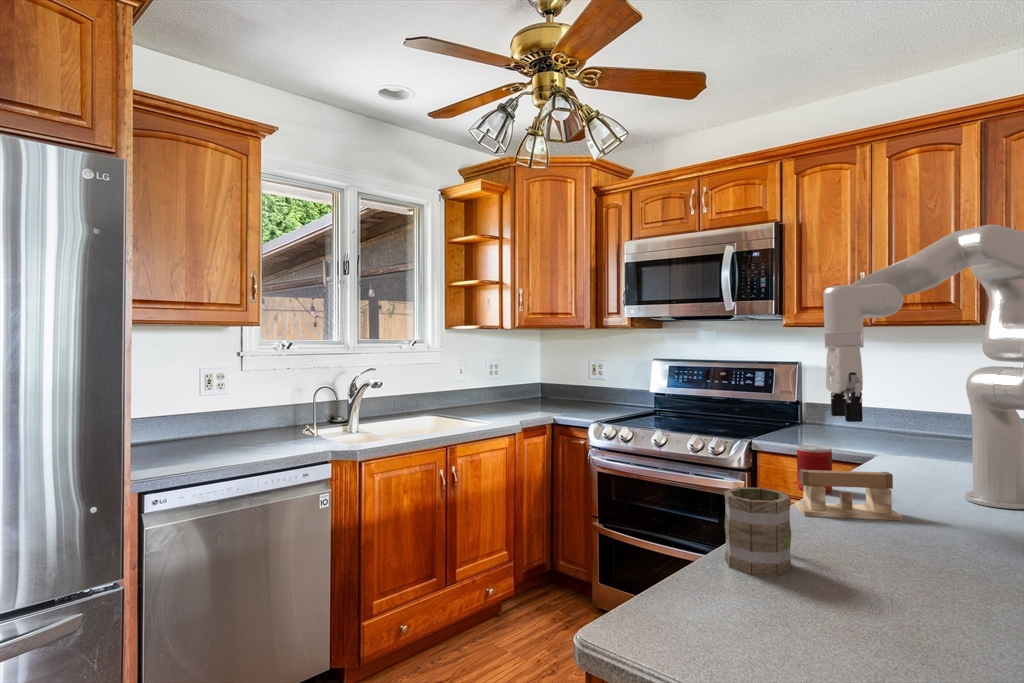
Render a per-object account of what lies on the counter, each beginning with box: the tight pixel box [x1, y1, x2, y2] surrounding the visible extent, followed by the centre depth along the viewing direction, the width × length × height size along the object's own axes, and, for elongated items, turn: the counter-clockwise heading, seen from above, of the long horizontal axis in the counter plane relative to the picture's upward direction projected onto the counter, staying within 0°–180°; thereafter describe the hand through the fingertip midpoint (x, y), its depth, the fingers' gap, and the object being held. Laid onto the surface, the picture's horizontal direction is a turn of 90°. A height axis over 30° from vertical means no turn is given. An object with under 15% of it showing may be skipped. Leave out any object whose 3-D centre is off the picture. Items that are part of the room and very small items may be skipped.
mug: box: [723, 486, 793, 577], centre depth 105 cm, size 16×11×12 cm
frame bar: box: [800, 469, 894, 490], centre depth 133 cm, size 18×3×3 cm, turn 78°
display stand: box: [794, 486, 903, 521], centre depth 133 cm, size 19×8×6 cm, turn 78°
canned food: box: [796, 444, 833, 495], centre depth 154 cm, size 8×8×11 cm
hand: (846, 418), depth 134 cm, fingers open, 9 cm apart
